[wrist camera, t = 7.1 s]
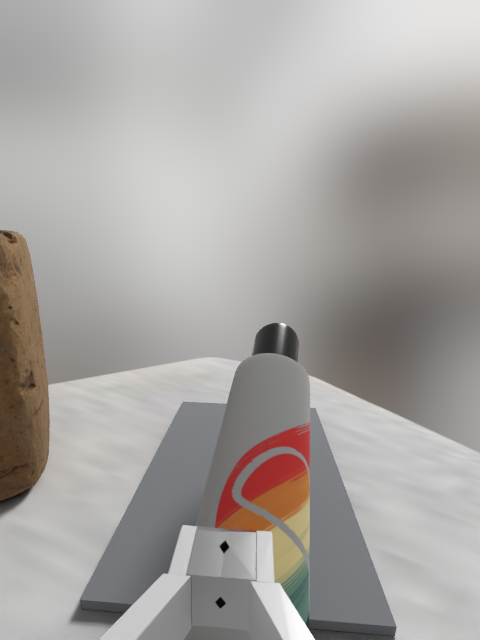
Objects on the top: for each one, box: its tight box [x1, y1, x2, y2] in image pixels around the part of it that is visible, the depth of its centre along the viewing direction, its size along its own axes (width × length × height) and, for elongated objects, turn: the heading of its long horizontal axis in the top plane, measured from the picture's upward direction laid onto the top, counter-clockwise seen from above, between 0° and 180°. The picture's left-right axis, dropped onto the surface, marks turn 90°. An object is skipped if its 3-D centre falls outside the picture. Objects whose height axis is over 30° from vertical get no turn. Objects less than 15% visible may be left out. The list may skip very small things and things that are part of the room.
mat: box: [80, 402, 396, 636], centre depth 26 cm, size 22×16×1 cm
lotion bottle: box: [184, 323, 310, 640], centre depth 19 cm, size 6×6×20 cm
